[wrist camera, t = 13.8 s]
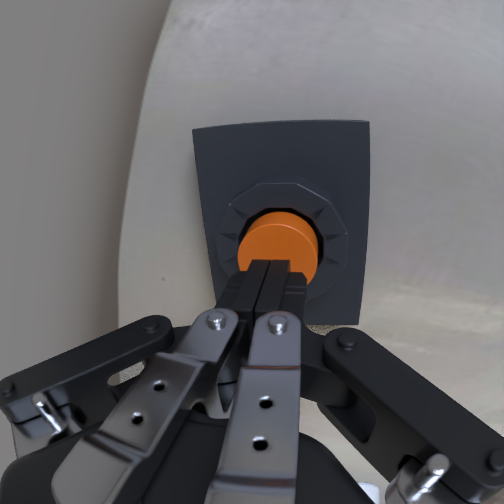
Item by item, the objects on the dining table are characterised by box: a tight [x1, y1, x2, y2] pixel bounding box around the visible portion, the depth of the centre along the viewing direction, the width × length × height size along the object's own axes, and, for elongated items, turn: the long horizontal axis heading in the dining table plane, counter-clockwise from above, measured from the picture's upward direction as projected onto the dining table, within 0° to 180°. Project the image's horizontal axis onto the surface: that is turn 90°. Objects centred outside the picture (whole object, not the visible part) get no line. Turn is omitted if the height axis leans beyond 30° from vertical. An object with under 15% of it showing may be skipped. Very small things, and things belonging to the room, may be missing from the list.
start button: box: [238, 212, 318, 285], centre depth 14 cm, size 4×4×2 cm
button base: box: [192, 120, 370, 325], centre depth 17 cm, size 12×9×4 cm
